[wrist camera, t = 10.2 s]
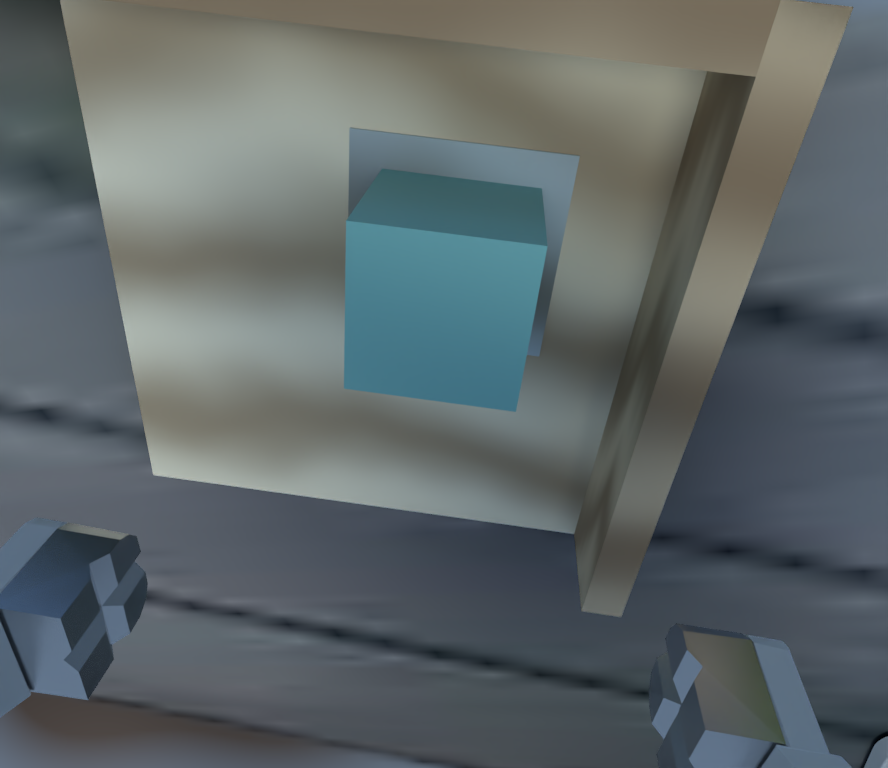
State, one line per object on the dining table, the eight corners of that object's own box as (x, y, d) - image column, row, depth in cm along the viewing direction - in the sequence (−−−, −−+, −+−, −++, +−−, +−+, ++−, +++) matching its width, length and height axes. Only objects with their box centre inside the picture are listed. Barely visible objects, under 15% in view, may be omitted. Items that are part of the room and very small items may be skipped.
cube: (541, 188, 20) (547, 246, 16) (516, 330, 23) (515, 411, 19) (382, 168, 20) (346, 220, 16) (376, 312, 23) (343, 388, 19)
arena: (606, 522, 29) (621, 617, 24) (163, 460, 29) (104, 542, 25) (775, -2, 18) (853, 7, 14) (65, -83, 18) (-70, -98, 14)
